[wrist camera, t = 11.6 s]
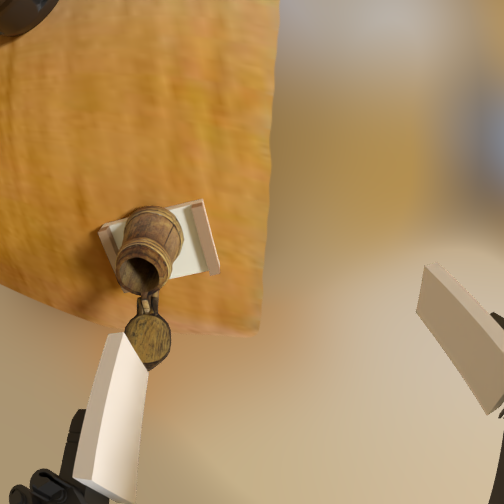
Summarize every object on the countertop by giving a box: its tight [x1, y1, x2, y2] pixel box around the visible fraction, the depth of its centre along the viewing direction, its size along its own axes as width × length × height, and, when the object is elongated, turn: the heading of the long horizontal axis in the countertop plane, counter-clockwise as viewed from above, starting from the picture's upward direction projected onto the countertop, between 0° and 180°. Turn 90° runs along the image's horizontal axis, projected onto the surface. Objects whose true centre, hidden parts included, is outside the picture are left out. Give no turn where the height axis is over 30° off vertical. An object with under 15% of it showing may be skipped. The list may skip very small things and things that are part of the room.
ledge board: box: [98, 199, 220, 293], centre depth 44 cm, size 11×16×3 cm
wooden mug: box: [115, 206, 184, 371], centre depth 36 cm, size 9×14×18 cm, turn 2°
